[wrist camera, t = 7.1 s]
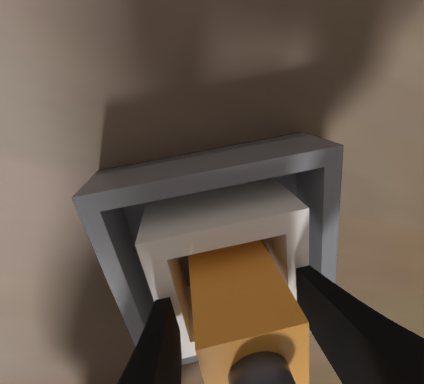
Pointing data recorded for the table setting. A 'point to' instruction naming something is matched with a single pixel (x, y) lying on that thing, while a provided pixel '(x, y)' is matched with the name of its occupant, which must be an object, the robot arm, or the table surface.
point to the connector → (246, 318)
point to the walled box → (211, 218)
